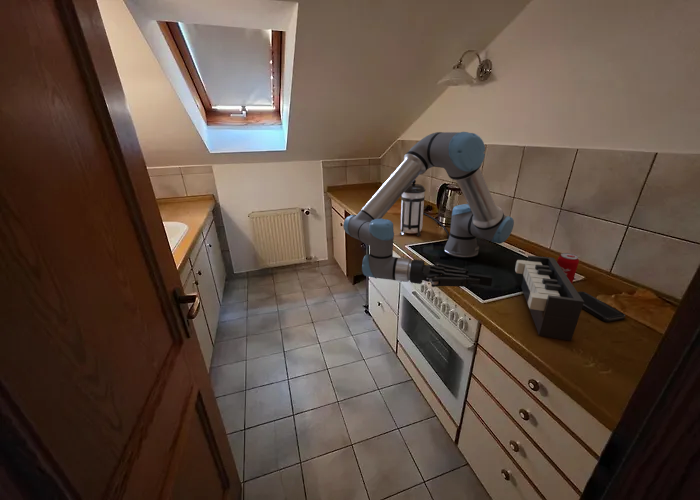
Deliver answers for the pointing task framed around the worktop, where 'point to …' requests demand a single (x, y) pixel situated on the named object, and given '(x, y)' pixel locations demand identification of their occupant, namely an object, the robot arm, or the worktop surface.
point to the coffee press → (412, 209)
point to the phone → (600, 308)
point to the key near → (537, 301)
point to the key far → (521, 264)
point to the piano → (552, 298)
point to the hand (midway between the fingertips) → (491, 280)
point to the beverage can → (568, 264)
